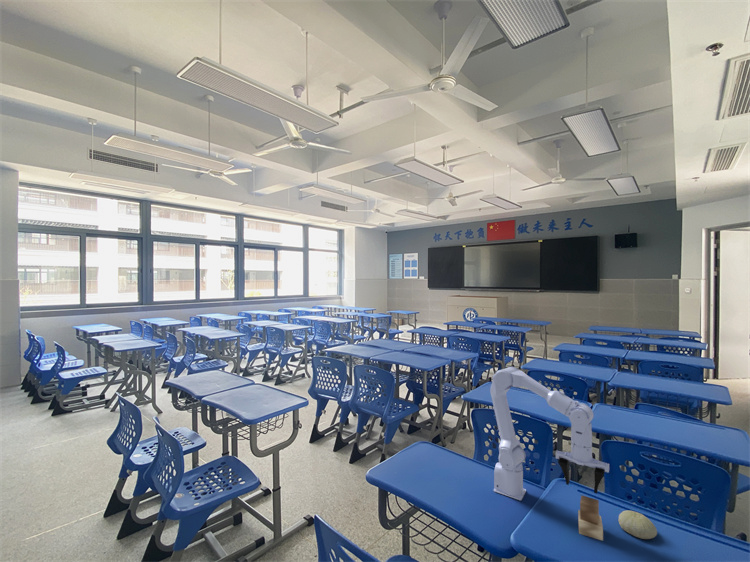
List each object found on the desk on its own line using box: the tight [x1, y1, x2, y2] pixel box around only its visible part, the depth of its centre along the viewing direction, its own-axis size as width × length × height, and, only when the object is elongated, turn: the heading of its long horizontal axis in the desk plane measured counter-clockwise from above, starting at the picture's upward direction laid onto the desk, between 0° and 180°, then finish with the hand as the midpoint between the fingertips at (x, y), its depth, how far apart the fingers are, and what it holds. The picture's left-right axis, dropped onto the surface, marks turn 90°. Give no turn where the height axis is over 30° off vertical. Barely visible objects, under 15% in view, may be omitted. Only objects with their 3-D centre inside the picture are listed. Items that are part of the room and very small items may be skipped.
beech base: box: [577, 509, 604, 541], centre depth 104 cm, size 6×6×4 cm
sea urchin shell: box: [618, 509, 658, 540], centre depth 104 cm, size 9×8×8 cm
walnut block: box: [579, 494, 600, 525], centre depth 104 cm, size 4×4×5 cm
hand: (581, 487), depth 109 cm, fingers open, 7 cm apart
